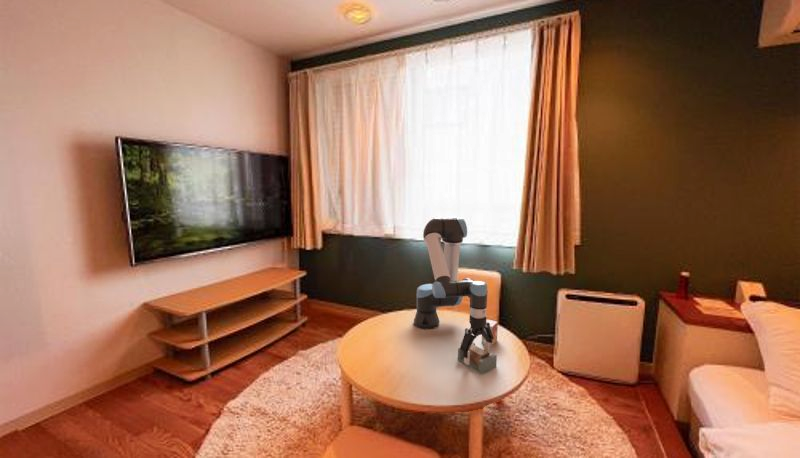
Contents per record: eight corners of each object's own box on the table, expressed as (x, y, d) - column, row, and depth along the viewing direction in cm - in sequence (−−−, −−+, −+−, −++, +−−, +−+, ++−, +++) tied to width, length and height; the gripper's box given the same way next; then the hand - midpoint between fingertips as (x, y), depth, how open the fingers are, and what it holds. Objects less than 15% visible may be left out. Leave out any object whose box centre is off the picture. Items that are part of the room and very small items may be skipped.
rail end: (466, 358, 155) (466, 346, 154) (472, 355, 158) (473, 344, 157) (482, 368, 147) (482, 356, 146) (489, 365, 150) (489, 352, 149)
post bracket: (457, 360, 156) (458, 348, 155) (472, 353, 162) (472, 342, 161) (481, 374, 144) (481, 362, 143) (496, 367, 150) (496, 355, 149)
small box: (491, 346, 169) (492, 327, 167) (481, 343, 172) (481, 324, 171) (497, 340, 175) (498, 321, 173) (487, 337, 178) (488, 319, 177)
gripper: (464, 325, 140) (463, 371, 143) (502, 311, 153) (500, 354, 156) (452, 319, 146) (451, 363, 149) (489, 306, 159) (488, 347, 163)
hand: (476, 359), depth 153 cm, fingers open, 13 cm apart
